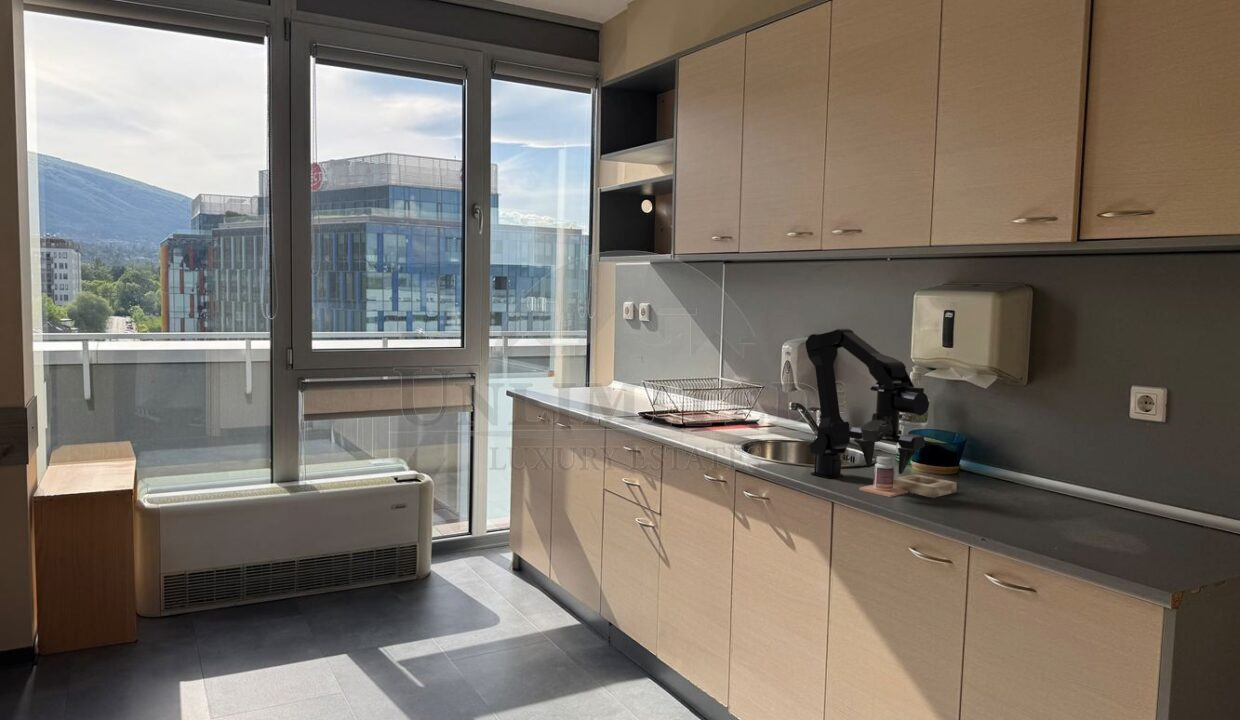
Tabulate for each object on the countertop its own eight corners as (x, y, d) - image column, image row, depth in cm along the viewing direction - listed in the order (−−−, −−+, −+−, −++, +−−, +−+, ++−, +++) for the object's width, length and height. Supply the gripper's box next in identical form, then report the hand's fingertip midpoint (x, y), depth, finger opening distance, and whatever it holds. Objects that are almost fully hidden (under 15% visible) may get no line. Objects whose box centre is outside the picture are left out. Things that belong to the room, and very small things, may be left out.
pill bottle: (896, 490, 215) (898, 458, 214) (881, 491, 213) (883, 459, 212) (884, 486, 219) (886, 454, 219) (869, 487, 218) (871, 455, 217)
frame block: (891, 488, 220) (891, 478, 220) (914, 483, 227) (914, 473, 227) (933, 497, 211) (933, 487, 211) (956, 492, 218) (956, 482, 218)
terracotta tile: (859, 489, 217) (859, 487, 217) (877, 486, 222) (877, 483, 222) (890, 497, 210) (890, 494, 210) (907, 492, 215) (907, 490, 215)
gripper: (838, 407, 217) (835, 467, 218) (902, 417, 202) (899, 481, 204) (863, 404, 224) (860, 462, 225) (928, 414, 209) (924, 475, 211)
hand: (884, 470), depth 216 cm, fingers open, 9 cm apart
